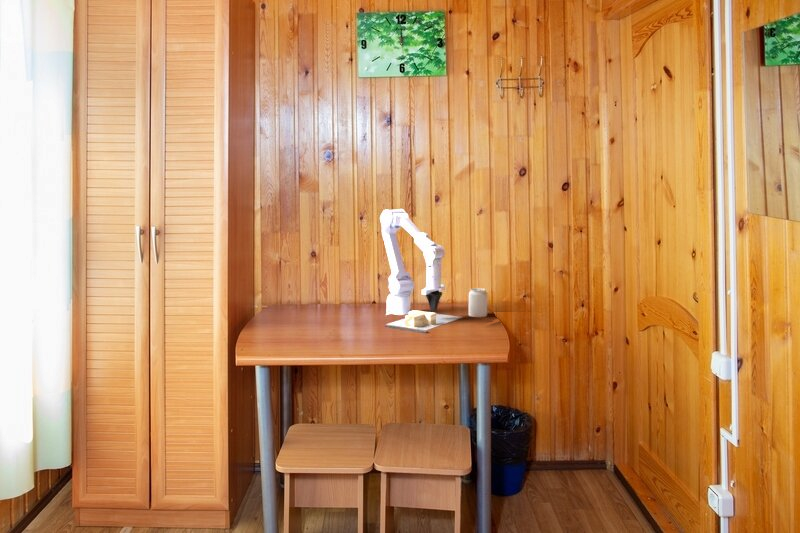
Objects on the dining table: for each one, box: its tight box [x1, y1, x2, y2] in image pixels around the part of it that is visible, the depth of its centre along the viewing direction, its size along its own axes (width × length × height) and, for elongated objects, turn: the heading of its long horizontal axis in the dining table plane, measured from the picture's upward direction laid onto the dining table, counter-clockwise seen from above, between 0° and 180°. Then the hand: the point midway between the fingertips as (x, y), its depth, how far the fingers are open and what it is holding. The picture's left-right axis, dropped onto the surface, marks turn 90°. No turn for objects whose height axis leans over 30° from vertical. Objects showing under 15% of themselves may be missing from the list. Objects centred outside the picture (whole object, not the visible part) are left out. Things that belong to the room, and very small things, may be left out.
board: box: [385, 313, 463, 334], centre depth 259 cm, size 18×28×1 cm, turn 146°
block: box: [404, 309, 437, 328], centre depth 253 cm, size 10×11×4 cm
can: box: [468, 287, 488, 318], centre depth 269 cm, size 8×8×12 cm
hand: (433, 310), depth 262 cm, fingers closed
